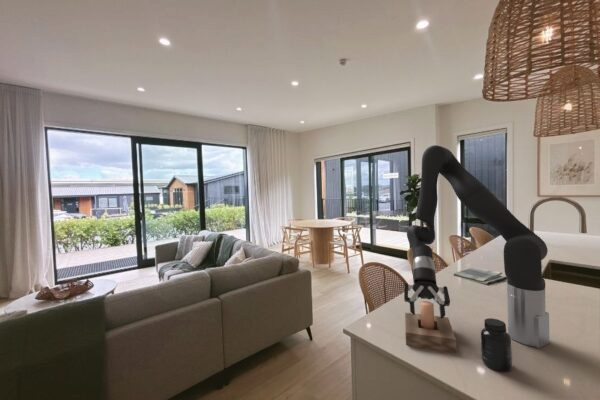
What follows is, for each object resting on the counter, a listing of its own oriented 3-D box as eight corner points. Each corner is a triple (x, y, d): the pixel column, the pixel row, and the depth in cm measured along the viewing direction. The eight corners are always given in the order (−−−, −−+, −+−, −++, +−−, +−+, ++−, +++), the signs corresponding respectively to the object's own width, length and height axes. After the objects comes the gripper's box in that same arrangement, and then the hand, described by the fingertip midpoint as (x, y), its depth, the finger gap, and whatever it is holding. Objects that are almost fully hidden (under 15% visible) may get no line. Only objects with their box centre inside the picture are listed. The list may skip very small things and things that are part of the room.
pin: (437, 334, 87) (436, 304, 87) (428, 337, 86) (427, 307, 86) (427, 328, 91) (426, 300, 91) (418, 332, 90) (417, 302, 89)
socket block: (448, 328, 92) (448, 317, 92) (456, 352, 79) (455, 339, 79) (405, 323, 98) (405, 312, 97) (406, 344, 84) (405, 332, 84)
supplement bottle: (498, 355, 77) (497, 315, 76) (518, 372, 70) (518, 327, 70) (475, 357, 77) (474, 317, 76) (493, 373, 70) (492, 329, 69)
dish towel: (452, 276, 145) (452, 270, 145) (472, 270, 153) (472, 265, 153) (488, 286, 128) (488, 280, 128) (509, 280, 136) (509, 273, 136)
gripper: (403, 265, 98) (404, 309, 88) (446, 267, 93) (453, 314, 83) (403, 274, 103) (404, 317, 93) (444, 277, 98) (450, 322, 88)
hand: (427, 315), depth 88 cm, fingers open, 8 cm apart
